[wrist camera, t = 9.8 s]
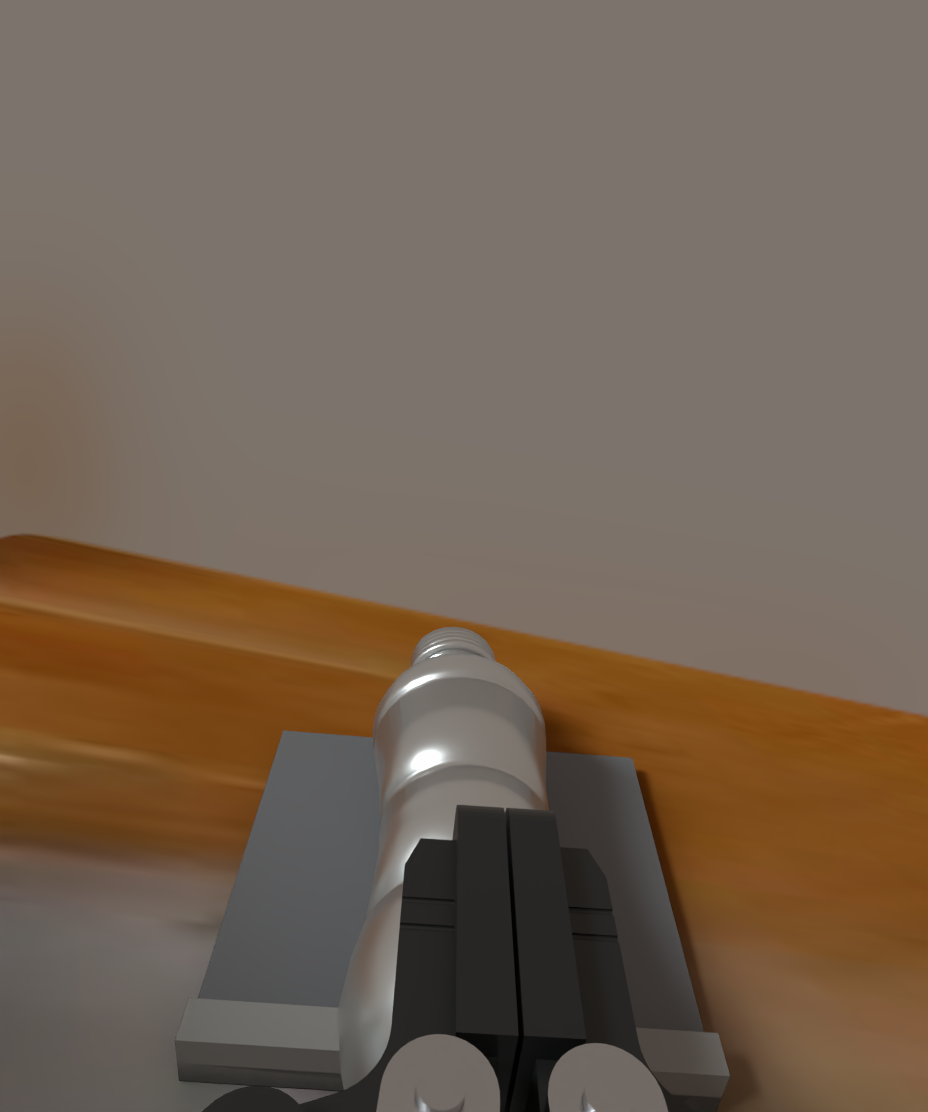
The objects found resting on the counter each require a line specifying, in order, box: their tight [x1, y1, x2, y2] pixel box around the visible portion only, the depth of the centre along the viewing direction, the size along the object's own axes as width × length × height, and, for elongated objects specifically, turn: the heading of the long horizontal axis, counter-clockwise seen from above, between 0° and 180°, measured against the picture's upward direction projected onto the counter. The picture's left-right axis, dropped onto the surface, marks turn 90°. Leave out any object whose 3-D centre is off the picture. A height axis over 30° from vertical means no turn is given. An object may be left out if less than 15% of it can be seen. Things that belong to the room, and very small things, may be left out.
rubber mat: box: [175, 731, 730, 1112], centre depth 29 cm, size 15×14×2 cm
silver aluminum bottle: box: [337, 627, 549, 1090], centre depth 26 cm, size 6×7×20 cm
